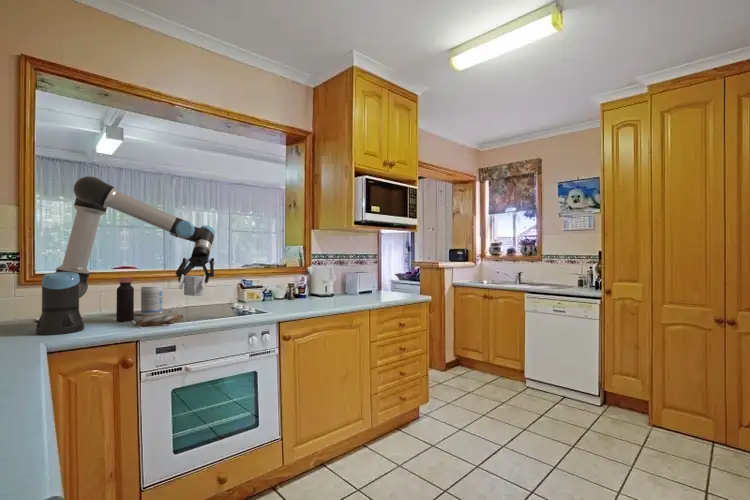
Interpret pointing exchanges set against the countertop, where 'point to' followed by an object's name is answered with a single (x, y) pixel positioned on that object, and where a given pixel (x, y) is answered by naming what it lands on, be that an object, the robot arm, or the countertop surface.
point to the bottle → (125, 300)
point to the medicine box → (193, 285)
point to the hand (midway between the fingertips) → (191, 287)
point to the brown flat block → (159, 318)
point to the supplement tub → (151, 299)
